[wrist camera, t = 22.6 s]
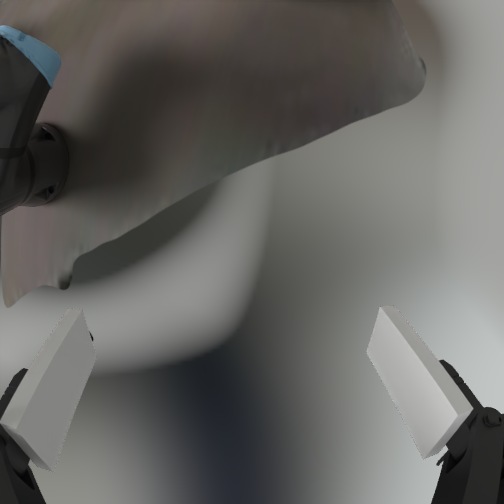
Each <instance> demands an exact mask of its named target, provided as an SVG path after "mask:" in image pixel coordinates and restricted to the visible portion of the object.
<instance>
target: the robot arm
mask: <svg viewBox="0 0 504 504" xmlns="http://www.w3.org/2000/svg"><path fill="white" fill-rule="evenodd" d="M60 67H61V57H60V55H59V54H58V53H57V52H56V51H55V50H54V49H52V48H51V47H49V46H48V45H46V44H44V43H43V42H41V41H39V40H37V39H35V38H33V37H31V36H29V35H26V34H25V33H23V32H21V31H19V30H17V29H14V28H12V27H9V26H5V25H2V26H0V216H1V215H3V214H5V213H7V212H8V211H10V210H12V209H14V208H16V207H17V206H27V207H36V206H40V205H43V204H45V203H47V202H49V201H50V200H52V199H53V198H55V197H56V196H57V195H58V194H59V192H60V191H61V189H62V188H63V186H64V184H65V181H66V178H67V174H68V168H69V156H68V150H67V147H66V144H65V141H64V139H63V137H62V136H61V134H60V133H59V132H58V131H57V130H56V129H55V128H54V127H52V126H50V125H48V124H45V123H35V122H36V120H37V117H38V115H39V113H40V110H41V108H42V106H43V103H44V101H45V99H46V97H47V95H48V92H49V90H51V89H52V87H53V82H54V80H55V77H56V75H57V73H58V71H59V69H60ZM366 353H367V355H368V356H369V358H370V360H371V362H372V364H373V365H374V367H375V369H376V371H377V372H378V374H379V376H380V378H381V380H382V381H383V383H384V385H385V387H386V389H387V391H388V393H389V394H390V396H391V398H392V400H393V402H394V404H395V406H396V407H397V409H398V411H399V413H400V415H401V417H402V419H403V421H404V422H405V425H406V426H407V428H408V430H409V432H410V434H411V436H412V438H413V440H414V442H415V444H416V446H417V448H418V450H419V452H420V454H421V456H422V458H423V459H425V458H427V457H430V456H433V455H435V454H437V453H439V452H440V451H441V449H442V448H443V447H444V446H445V445H446V446H447V448H448V449H449V450H448V451H447V452H446V453H445V454H444V456H442V457H441V459H440V460H439V461H438V462H437V465H438V466H439V465H440V463H441V462H442V461H443V460H444V462H443V465H442V469H441V473H440V477H439V481H438V483H437V487H436V490H435V493H434V496H433V499H432V503H431V504H504V414H501V413H500V412H498V411H497V410H496V409H494V408H491V407H485V408H484V407H483V406H482V405H481V404H480V402H479V401H478V400H477V398H476V397H475V395H474V394H473V393H472V391H471V390H470V389H469V387H468V386H467V385H466V383H464V381H463V379H462V378H461V377H459V374H458V373H457V372H456V370H455V369H454V368H453V367H452V366H451V365H450V364H448V363H447V362H446V361H444V360H440V361H438V360H437V358H436V357H435V356H434V354H433V353H432V352H431V350H430V349H429V348H428V346H427V345H426V344H425V343H424V341H423V340H422V339H421V338H420V336H419V335H418V334H417V333H416V331H415V330H414V329H413V328H412V326H411V325H410V324H409V323H408V322H407V320H406V319H405V318H404V317H403V315H402V314H401V313H400V312H399V311H398V309H397V308H396V307H395V306H394V305H391V306H380V309H379V313H378V316H377V320H376V323H375V327H374V330H373V334H372V336H371V340H370V343H369V346H368V349H367V352H366ZM96 358H97V355H96V352H95V349H94V346H93V343H92V340H91V337H90V334H89V330H88V327H87V324H86V320H85V317H84V313H83V310H82V309H67V311H66V312H65V314H64V315H63V317H62V318H61V320H60V321H59V323H58V324H57V325H56V327H55V328H54V330H53V331H52V333H51V334H50V336H49V338H48V339H47V340H46V342H45V344H44V345H43V347H42V348H41V350H40V351H39V353H38V355H37V356H36V358H35V359H34V361H33V363H32V364H31V366H30V368H29V369H25V368H23V369H22V370H20V371H19V372H18V373H17V374H16V375H15V376H14V377H13V379H12V381H11V382H10V384H9V387H7V389H6V391H5V394H4V395H3V396H2V398H1V400H0V504H46V502H45V500H44V498H43V496H42V494H41V492H40V490H39V487H38V485H37V483H36V480H35V478H34V475H33V473H32V470H31V468H30V467H29V465H28V463H29V460H30V459H31V460H32V462H33V463H34V464H35V465H36V466H37V467H40V468H42V469H46V470H49V471H52V472H54V471H55V467H56V464H57V461H58V458H59V455H60V452H61V449H62V446H63V443H64V440H65V437H66V434H67V431H68V429H69V426H70V423H71V420H72V417H73V415H74V412H75V410H76V407H77V404H78V402H79V399H80V397H81V394H82V392H83V389H84V387H85V384H86V382H87V379H88V377H89V375H90V372H91V370H92V367H93V365H94V363H95V361H96Z"/></svg>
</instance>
